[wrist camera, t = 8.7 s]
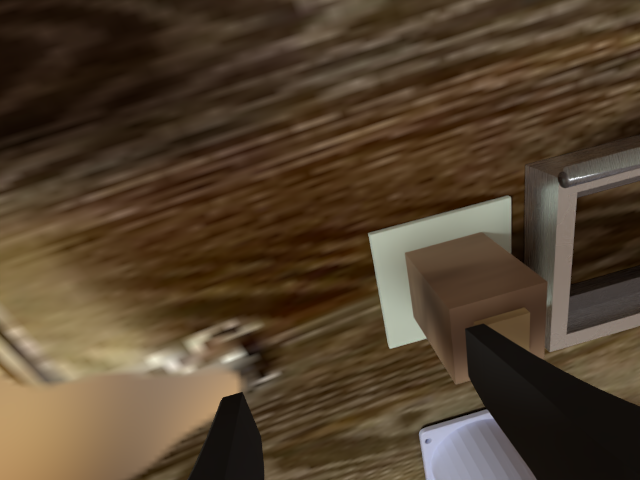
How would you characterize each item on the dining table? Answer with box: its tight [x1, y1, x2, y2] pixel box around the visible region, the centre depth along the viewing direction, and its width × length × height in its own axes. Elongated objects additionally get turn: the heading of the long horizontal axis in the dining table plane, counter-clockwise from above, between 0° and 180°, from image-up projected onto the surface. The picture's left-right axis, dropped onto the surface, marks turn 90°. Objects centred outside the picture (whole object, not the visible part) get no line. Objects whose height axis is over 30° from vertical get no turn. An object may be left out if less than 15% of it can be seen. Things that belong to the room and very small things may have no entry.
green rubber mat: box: [368, 196, 511, 349], centre depth 23 cm, size 8×8×1 cm
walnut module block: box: [405, 232, 547, 384], centre depth 21 cm, size 4×4×6 cm
